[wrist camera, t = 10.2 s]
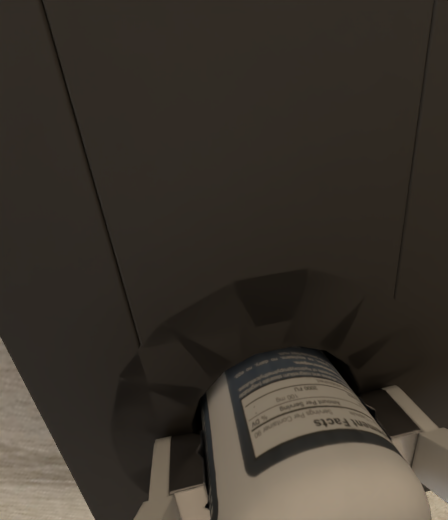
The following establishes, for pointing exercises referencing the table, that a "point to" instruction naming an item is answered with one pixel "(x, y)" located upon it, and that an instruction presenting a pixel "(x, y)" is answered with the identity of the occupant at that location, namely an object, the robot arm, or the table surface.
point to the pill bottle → (300, 446)
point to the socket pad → (216, 209)
